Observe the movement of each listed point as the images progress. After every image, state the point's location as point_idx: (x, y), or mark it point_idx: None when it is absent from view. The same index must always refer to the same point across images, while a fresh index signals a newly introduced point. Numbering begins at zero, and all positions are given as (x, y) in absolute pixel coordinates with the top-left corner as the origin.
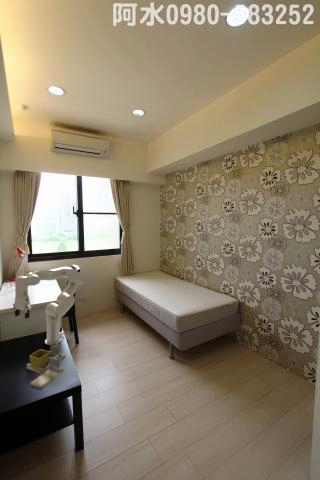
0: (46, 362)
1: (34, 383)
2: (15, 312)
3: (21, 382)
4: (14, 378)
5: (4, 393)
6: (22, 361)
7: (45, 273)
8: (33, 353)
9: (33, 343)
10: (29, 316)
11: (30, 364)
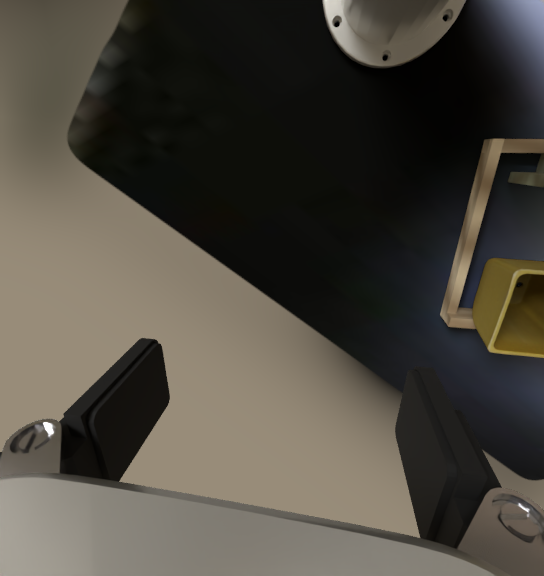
0: None
1: None
2: (123, 465)
3: (487, 385)
4: None
5: None
6: (366, 277)
7: None
8: (500, 326)
9: (265, 100)
10: (435, 372)
11: (471, 321)
